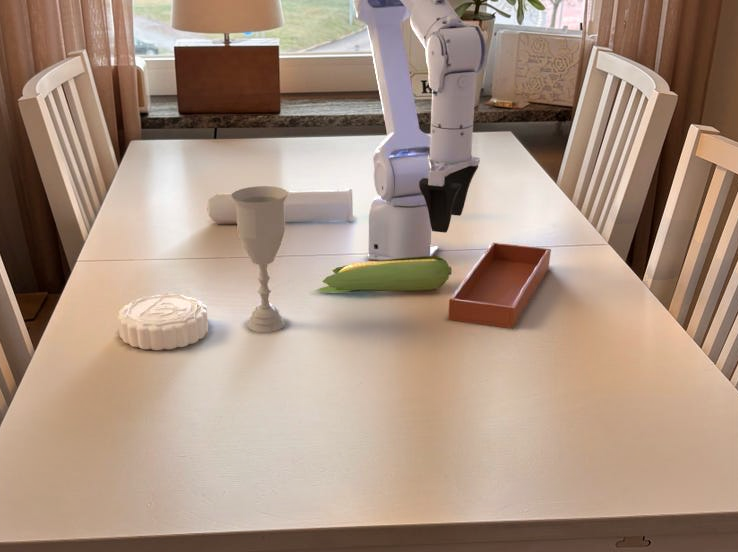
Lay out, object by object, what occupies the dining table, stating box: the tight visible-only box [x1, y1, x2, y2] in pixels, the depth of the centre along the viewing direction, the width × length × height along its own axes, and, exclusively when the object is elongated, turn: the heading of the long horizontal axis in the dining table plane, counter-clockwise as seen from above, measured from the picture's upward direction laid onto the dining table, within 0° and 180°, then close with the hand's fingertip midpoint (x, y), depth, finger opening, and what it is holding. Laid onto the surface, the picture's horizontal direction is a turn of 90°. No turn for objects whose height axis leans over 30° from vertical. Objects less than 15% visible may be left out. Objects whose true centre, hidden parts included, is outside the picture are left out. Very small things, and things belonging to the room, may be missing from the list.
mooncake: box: [117, 293, 209, 351], centre depth 139 cm, size 12×12×4 cm
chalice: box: [231, 185, 288, 333], centre depth 137 cm, size 7×7×18 cm
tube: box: [206, 187, 354, 225], centre depth 177 cm, size 5×5×25 cm
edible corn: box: [314, 255, 453, 294], centre depth 150 cm, size 5×20×5 cm, turn 94°
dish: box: [447, 242, 552, 329], centre depth 149 cm, size 9×24×3 cm, turn 158°
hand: (446, 222), depth 147 cm, fingers open, 7 cm apart
